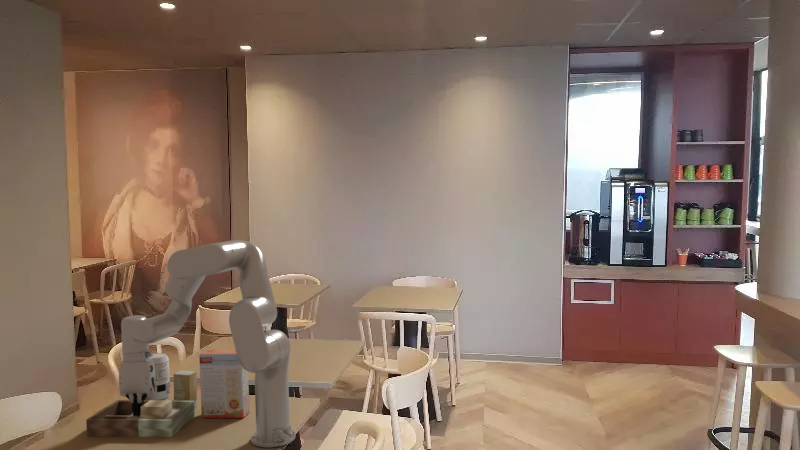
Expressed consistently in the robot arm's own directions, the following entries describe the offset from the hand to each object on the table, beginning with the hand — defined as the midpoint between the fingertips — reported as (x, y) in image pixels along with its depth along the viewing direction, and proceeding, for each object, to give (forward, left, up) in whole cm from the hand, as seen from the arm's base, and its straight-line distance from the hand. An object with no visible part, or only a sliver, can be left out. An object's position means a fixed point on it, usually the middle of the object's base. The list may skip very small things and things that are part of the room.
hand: (138, 414), depth 185 cm
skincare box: (+4, -17, -4) cm, 18 cm away
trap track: (-1, -1, -4) cm, 4 cm away
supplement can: (+22, -15, -4) cm, 27 cm away
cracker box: (-12, -23, -4) cm, 26 cm away
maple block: (-4, -4, -1) cm, 6 cm away
